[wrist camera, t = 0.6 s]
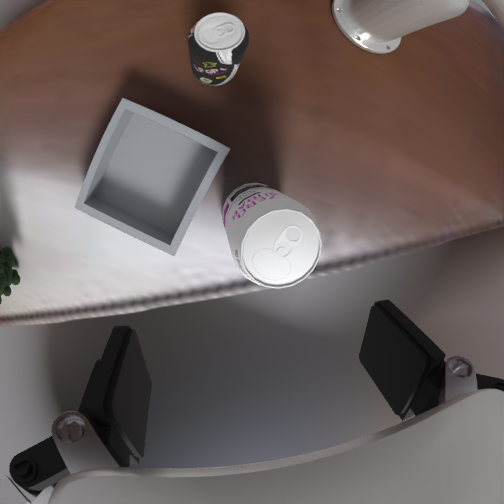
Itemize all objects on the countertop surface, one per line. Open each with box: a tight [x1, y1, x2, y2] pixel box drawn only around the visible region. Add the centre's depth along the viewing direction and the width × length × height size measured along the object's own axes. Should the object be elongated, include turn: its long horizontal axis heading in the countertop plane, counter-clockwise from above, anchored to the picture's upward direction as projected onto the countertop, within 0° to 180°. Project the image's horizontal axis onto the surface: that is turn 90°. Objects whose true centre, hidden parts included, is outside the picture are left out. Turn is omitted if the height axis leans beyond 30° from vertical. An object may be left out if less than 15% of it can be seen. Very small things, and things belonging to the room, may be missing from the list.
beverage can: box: [188, 13, 249, 86], centre depth 24 cm, size 6×6×12 cm
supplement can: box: [222, 183, 322, 289], centre depth 30 cm, size 8×8×15 cm
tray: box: [75, 98, 230, 256], centre depth 31 cm, size 14×14×5 cm
